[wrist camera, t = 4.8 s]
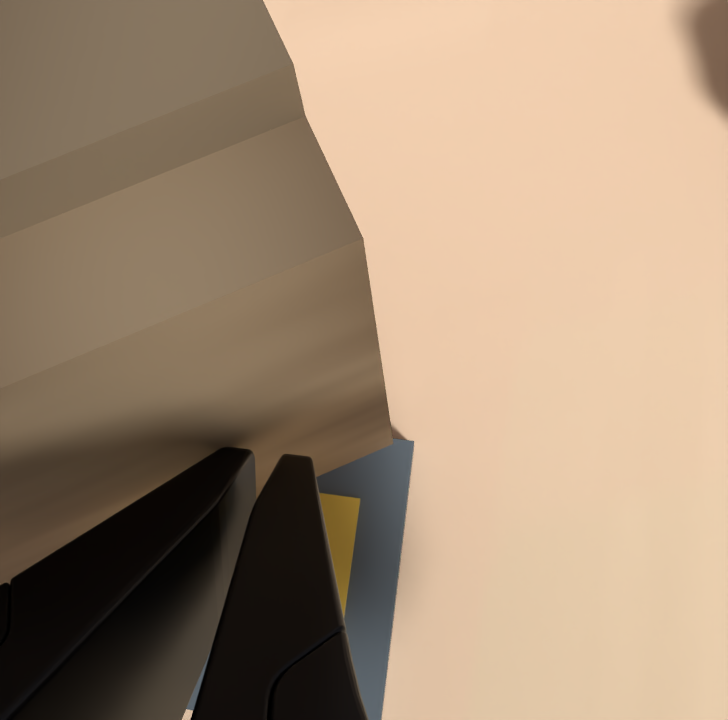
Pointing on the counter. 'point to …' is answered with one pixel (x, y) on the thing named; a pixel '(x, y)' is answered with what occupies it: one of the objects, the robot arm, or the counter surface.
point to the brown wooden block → (166, 263)
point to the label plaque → (366, 557)
